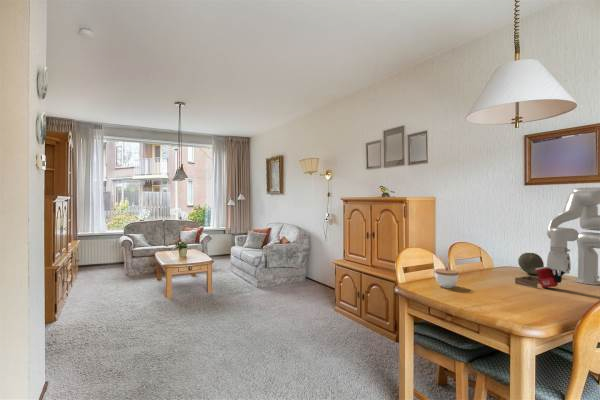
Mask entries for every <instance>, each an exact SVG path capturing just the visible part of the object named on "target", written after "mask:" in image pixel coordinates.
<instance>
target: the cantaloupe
mask: <svg viewBox="0 0 600 400" xmlns="http://www.w3.org/2000/svg"><path fill="white" fill-rule="evenodd" d="M517 262H518V266H519V267H520V269H521V270H522V271H523V272H525V273H526V274H529V275H531V276H535V275H537V273H536V270H535V269H536V268H541V267H545V263H544V261H543V258H542V257H541V256H540V255H539V254H537V253H535V252H524V253H522V254H521V255H519V258H518V261H517Z"/></svg>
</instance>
